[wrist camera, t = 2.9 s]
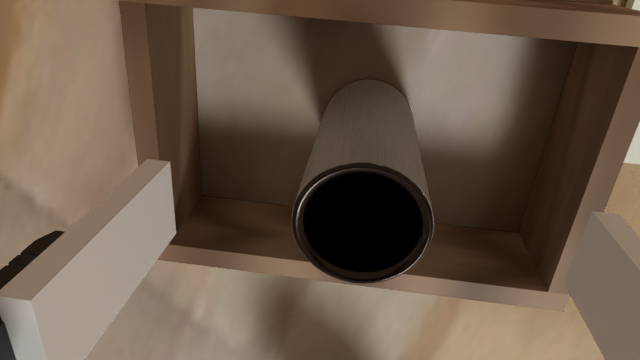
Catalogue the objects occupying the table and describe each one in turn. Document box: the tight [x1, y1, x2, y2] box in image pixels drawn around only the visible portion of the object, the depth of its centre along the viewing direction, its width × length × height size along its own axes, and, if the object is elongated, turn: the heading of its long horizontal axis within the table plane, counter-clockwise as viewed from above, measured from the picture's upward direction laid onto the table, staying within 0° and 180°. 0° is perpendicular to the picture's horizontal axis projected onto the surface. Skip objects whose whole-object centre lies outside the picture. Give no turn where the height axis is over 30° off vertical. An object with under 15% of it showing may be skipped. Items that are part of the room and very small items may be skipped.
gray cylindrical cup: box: [291, 79, 434, 284], centre depth 19 cm, size 4×4×10 cm
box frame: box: [119, 0, 640, 312], centre depth 22 cm, size 20×13×5 cm, turn 86°
